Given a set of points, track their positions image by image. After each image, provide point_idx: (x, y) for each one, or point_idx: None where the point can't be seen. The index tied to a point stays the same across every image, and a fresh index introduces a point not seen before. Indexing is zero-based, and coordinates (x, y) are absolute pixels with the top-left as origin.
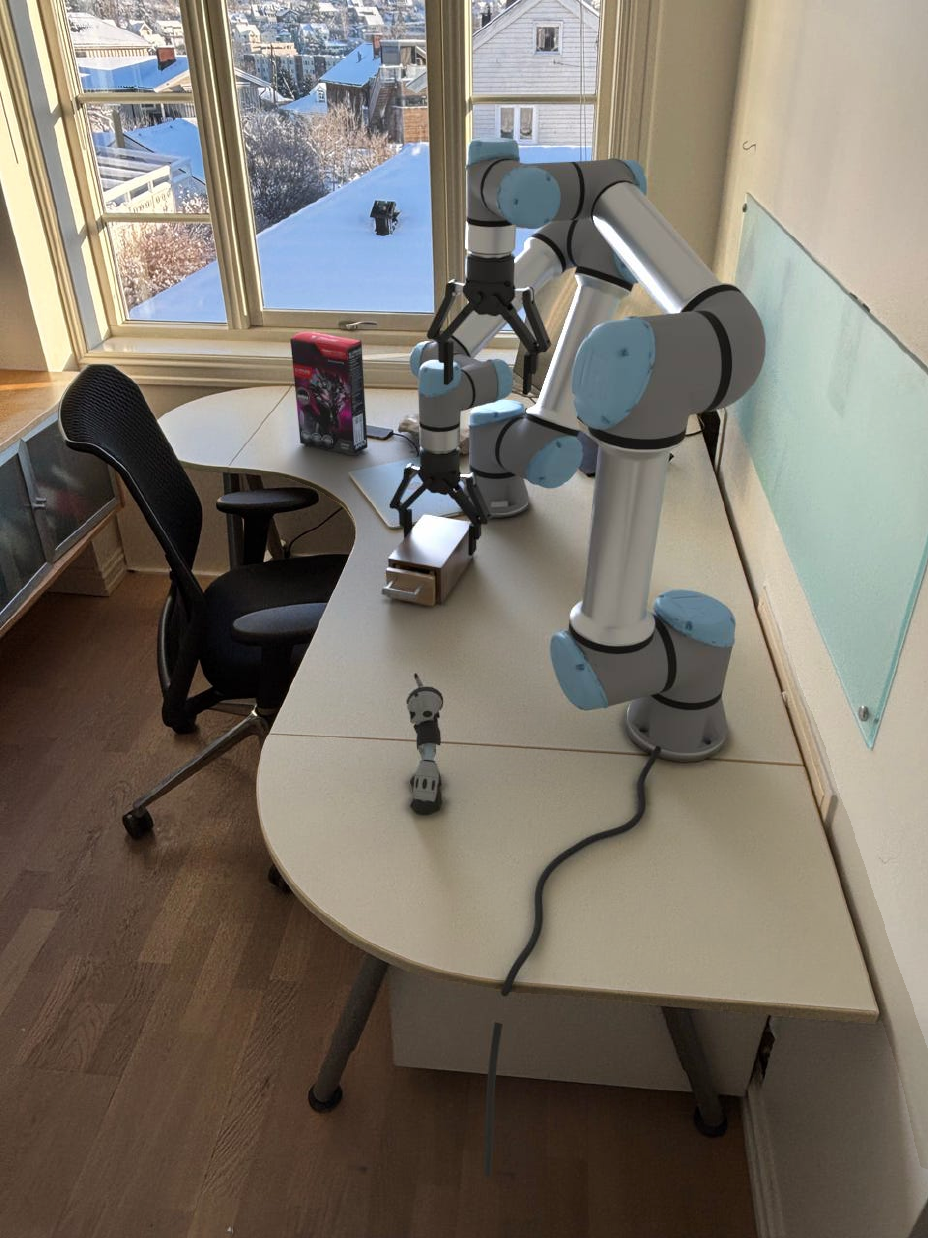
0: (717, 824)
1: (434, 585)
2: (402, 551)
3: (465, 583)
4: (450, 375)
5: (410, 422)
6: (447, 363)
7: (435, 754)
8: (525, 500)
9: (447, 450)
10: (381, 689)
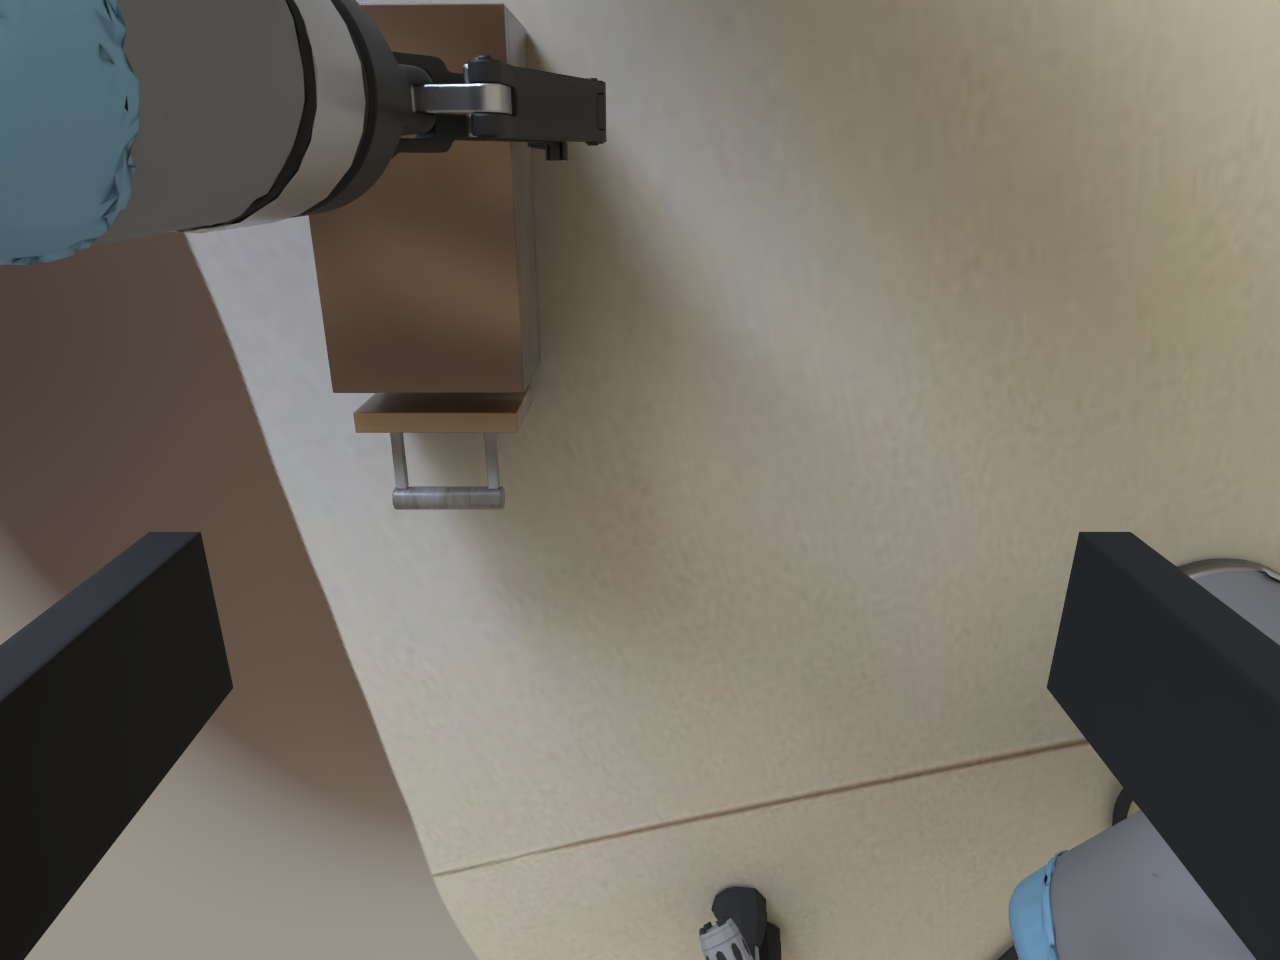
0: None
1: (522, 411)
2: (354, 334)
3: (565, 219)
4: (179, 664)
5: None
6: (87, 870)
7: None
8: None
9: (333, 187)
10: (551, 718)
